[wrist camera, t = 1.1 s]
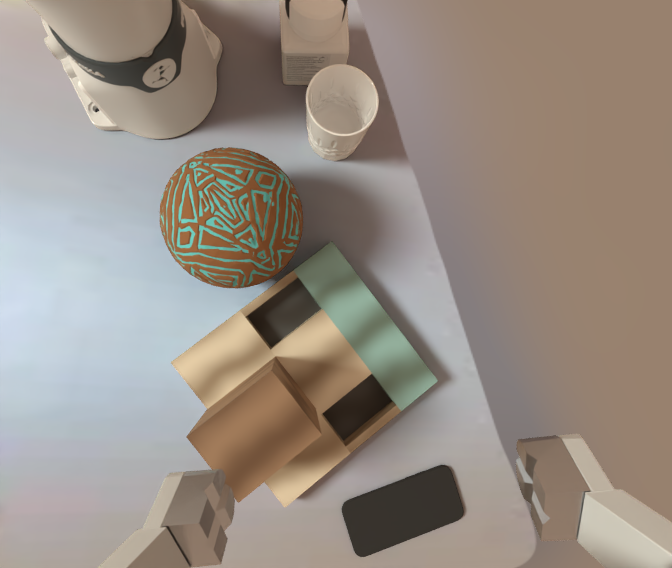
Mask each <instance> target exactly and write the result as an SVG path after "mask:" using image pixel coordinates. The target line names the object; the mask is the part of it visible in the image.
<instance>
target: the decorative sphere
mask: <svg viewBox="0 0 672 568" xmlns="http://www.w3.org/2000/svg"><path fill="white" fill-rule="evenodd" d="M160 227H161V230H162V234H163V237H164V240H165V243H166V245H167V247H168V249H169V251H170V253H171V254H172V256H173V257H174V259H175V260H176V262H178V263H179V264H180V265H181V266H182V268H183V269H185V270H186V271H187V272H188V273H189V274H191V275H192V276H194V277H196V278H197V279H199V280H201V281H203V282H206V283H208V284H211V285H214V286H218V287H223V288H244V287H250V286H254V285H257V284H260V283H262V282H265V281H267V280H269V279H270V278H272V277H273V276H274V275H276V274H277V273H279V272H280V271H281V270H282V269H283V268H284V267H285V266H286V265H287V264H288V262H289V261H290V260H291V258H292V257H293V255H294V253H295V252H296V249H297V247H298V244H299V242H300V239H301V235H302V228H303V213H302V205H301V202H300V199H299V196H298V194H297V192H296V189H295V187H294V185H293V183H292V182H291V181H290V179H289V177H288V176H287V175H286V174H285V173H284V172H283V171H282V170H281V169H280V168H279V167H278V166H277V165H276V164H274V163H273V162H272V161H269V159H268V158H266V157H264V156H262V155H260V154H258V153H255V152H252V151H249V150H245V149H239V148H230V147H229V148H218V149H216V148H215V149H212V150H210V151H206V152H202V153H200V154H198V155H196V156H194V157H193V158H191V159H189V160H188V161H187V162H186V163H184V164H183V165H182V166H181V167H180V168H179V169H177V170H176V172H175V173H174V174H173V176H172V177H171V178H170V180H169V182H168V184H167V185H166V188H165V192H164V193H163V195H162V198H161V205H160Z"/></svg>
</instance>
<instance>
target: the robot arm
mask: <svg viewBox="0 0 672 568" xmlns="http://www.w3.org/2000/svg"><path fill="white" fill-rule="evenodd" d="M25 1H26V2H27V3H28V4H29V5H30V6H31V7H32V8H33V9H34V10H35V11H36V12H37V13H38V14H39V15H40V16H41V17H42V23H43V25H44V28H45V30H46V32H47V34H48V36H49V37H46V38H45V39H44V41H45V43H46V45H47V46H48V48H49V50H50V51H51V52H52V54H53V55H54V56H55V57H56V58H57V59H58V60H61V62H62V64H63V68H64V70H65V71H66V73H67V74H68V76H69V78H70V80H71V82H72V84H73V86H74V88H75V90H76V92H77V94H78V96H79V98H80V100H81V102H82V104H83V106H84V108H85V110H86V112H87V114H88V116H89V118H90V120H91V122H92V123H93V124H94V125H95V126H96V127H97V128H98V129H101V130H124V131H128V132H131V133H133V134H136V135H139V136H142V137H146V138H153V139H166V138H172V137H176V136H180V135H182V134H185V133H187V132H189V131H190V130H192V129H194V128H195V127H196V126H198V125H199V124H200V123H201V122H202V121H203V120H204V119H205V117H206V116H207V115H208V113H209V112H210V110H211V108H212V106H213V104H214V101H215V97H216V92H217V74H216V70H217V65H218V62H219V60H220V57H221V54H222V44H221V42H220V40H219V38H218V37H217V36H216V35H215V34H214V33H213V32H212V31H211V30H209V29H208V28H207V27H206V26H205V25H204V24H203V23H202V22H201V21H200V19H199V17H198V15H197V13H196V12H195V10H194V9H190V8H189V7H188V6H187V5H186V4H184V3H183V2H182V1H181V0H25ZM97 108H98V109H99V111H98V112H95V110H96V109H97ZM516 449H517V452H518V454H519V456H520V457H519V458H518V459H517V460H516V473H517V479H518V483H519V486H520V490H521V492H522V495H523V497H524V499H525V500H526V501H528V502H529V503H530V504H531V517H532V520H533V522H534V525H535V527H536V529H537V532H538V534H539V537H540V539H541V541H557V540H578V542H579V543H580V544H581V545H582V546H583V547H584V548H585V549H586V550H587V551H588V552H589V553H590V554H591V555H592V556H593V557H594V558H595V559H596V560H597V561H599V562H600V563H601V564H602V565H603V566H604V567H605V568H672V522H670V521H669V520H667V519H666V518H664V517H663V516H661V515H660V514H658V513H657V512H655V511H654V510H652V509H651V508H649V507H648V506H646V505H645V504H643V503H642V502H640V501H639V500H637V499H636V498H634V497H633V496H631V495H630V494H628V493H627V492H625V491H624V490H622V489H619V490H615V488H614V486H613V485H612V483H611V482H610V480H609V479H608V477H607V475H606V474H605V473H604V471H603V469H602V468H601V466H600V464H599V463H598V461H597V460H596V458H595V456H594V455H593V454H592V452H591V450H590V449H589V447H588V445H587V444H586V442H585V441H584V439H583V437H582V436H580V435H579V434H569V435H559V436H546V437H537V438H528V439H519V440H518V441H517V448H516ZM225 479H226V475H225V473H224V471H223V470H222V469H216V470H201V471H186V472H175V473H169V474H168V476H167V477H166V478H165V479H164V482H163V484H162V486H161V488H160V491H159V493H158V495H157V497H156V499H155V502H154V504H153V506H152V508H151V511H150V513H149V515H148V517H147V520H146V522H145V524H144V526H143V529H137V530H136V531H135V532H134V533H133V534H132V535H131V536H130V537H129V538H128V539H127V540H126V541H125V542H124V543H123V544H122V545H121V546H120V547H119V548H117V549H116V550H115V551H114V552H113V553H112V554H111V555H110V556H109V557H108V558H107V559H106V560H105V561H104V562H103V563H102V564H101V565H100V566H99V567H98V568H190V567H199V566H209V565H218V564H221V562H222V558H223V554H224V551H225V547H226V543H227V537H226V534H225V532H224V531H225V530H226V529H227V527H228V526H229V525H230V524H231V523H232V519H233V515H234V504H235V500H234V494H233V491H232V489H231V487H230V486H228V485H227V484H225Z"/></svg>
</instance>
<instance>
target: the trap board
mask: <svg viewBox="0 0 672 568" xmlns="http://www.w3.org/2000/svg"><path fill="white" fill-rule="evenodd" d="M275 356H276V358H277V359H278V360H279V361H280V363H281V364H282V365H283V367H284V368H285V369H286V371H287V372H288V373H289V374H290V376H291V377H292V378H293V380H294V381H295V382H296V383H297V385H298V386H299V387H300V389H301V390H302V391H303V392H304V394H305V395H306V396H307V398H308V399H309V400H310V401H311V403H312V404H313V405H314V407H315V408H316V411H317V416H318V420H319V425H320V429H321V433H322V435H321V436H320V437H319V438H317V439H316V440H315V441H314V442H312V443H311V444H310V445H309V446H307V447H306V448H305V449H304V450H303V451H301V452H300V453H299V454H298V455H296V456H295V457H294V458H293V459H292V460H290V461H289V462H288V463H287V464H285V465H284V466H283V467H282V468H280V469H279V470H278V471H277V472H276V473H274V474H273V475H272V476H271V477H269V478H268V479H267V480H266V481H265V483H266V484H267V486H268V487H269V488H270V489H271V491H272V492H273V493H274V494H275V496H276V497H277V498H278V500H279V501H280V502H281V503H282V505H283V506H284V507H286V506H288V505H289V504H290V503H291V502H292V501H294V500H295V499H296V498H297V497H298V496H300V495H301V494H302V493H303V492H305V491H306V490H307V489H308V488H309V487H311V486H312V485H313V484H314V483H315V482H317V481H318V480H319V479H320V478H321V477H323V476H324V475H325V474H326V473H327V472H329V471H330V470H331V469H332V468H333V467H335V466H336V465H337V464H338V463H340V462H341V461H342V460H343V459H344V458H346V457H347V456H348V455H349V454H350V453H352V452H353V451H354V450H355V449H356V448H358V447H359V446H360V445H361V444H362V443H364V442H365V441H366V440H367V439H369V438H370V437H371V436H372V435H373V434H375V433H376V432H377V431H378V430H379V429H381V428H382V427H383V426H384V425H385V424H387V423H388V422H389V421H390V420H391V419H393V418H394V417H395V416H396V415H397V414H399V413H400V412H401V411H402V410H404V409H405V408H406V407H407V406H408V405H410V404H411V403H412V402H413V401H414V400H416V399H417V398H418V397H419V396H420V395H422V394H423V393H424V392H425V391H426V390H428V389H429V388H430V387H431V386H433V385H434V384H435V383H436V382H437V381H438V380H437V379H436V378H435V376H434V375H433V374H432V372H431V371H430V370H429V368H428V367H427V366H426V364H425V363H424V362H423V360H422V359H421V358H420V356H419V355H418V354H417V352H416V351H415V350H414V349H413V347H412V346H411V345H410V343H409V342H408V341H407V339H406V338H405V337H404V335H403V334H402V333H401V331H400V330H399V329H398V327H397V326H396V325H395V324H394V322H393V321H392V320H391V318H390V317H389V316H388V314H387V313H386V312H385V310H384V309H383V308H382V306H381V305H380V304H379V302H378V301H377V300H376V298H375V297H374V296H373V295H372V293H371V292H370V291H369V289H368V288H367V287H366V285H365V284H364V283H363V281H362V280H361V279H360V277H359V276H358V275H357V273H356V272H355V271H354V270H353V268H352V267H351V266H350V264H349V263H348V262H347V260H346V259H345V258H344V256H343V255H342V254H341V252H340V251H339V250H338V248H337V247H336V246H335V244H334V243H333V242H332V241H331V242H330V243H329V244H327V245H326V246H325V247H323V248H322V249H321V250H319V251H318V252H317V253H315V254H314V255H313V256H311V257H310V258H309V259H307V260H306V261H305V262H303V263H302V264H301V265H299V266H298V267H297V268H296V269H294V270H293V271H292V272H290V273H289V274H288V275H286V276H285V277H284V278H282V279H281V280H280V281H278V282H277V283H276V284H274V285H273V286H272V287H270V288H269V289H268V290H266V291H265V292H264V293H262V294H261V295H260V296H258V297H257V298H256V299H254V300H253V301H252V302H250V303H249V304H248V305H246V306H245V307H244V308H242V309H241V310H240V311H238V312H237V313H236V314H234V315H233V316H232V317H230V318H229V319H228V320H226V321H225V322H224V323H222V324H221V325H220V326H218V327H217V328H216V329H215V330H213V331H212V332H211V333H209V334H208V335H207V336H205V337H204V338H203V339H201V340H200V341H199V342H197V343H196V344H195V345H193V346H192V347H191V348H189V349H188V350H187V351H185V352H184V353H183V354H181V355H180V356H179V357H177V358H176V359H175V360H173V361H172V362H171V363H172V365H173V366H174V367H175V369H176V370H177V371H178V372H179V374H180V375H181V376H182V377H183V379H184V380H185V381H186V383H187V384H188V385H189V386H190V388H191V389H192V390H193V391H194V393H195V394H196V395H197V397H198V398H199V399H200V400H201V402H202V403H203V404H204V405H205V407H206V408H207V409H208V408H210V407H211V406H212V405H213V404H215V403H216V402H217V401H219V400H220V399H221V398H223V397H224V396H225V395H226V394H228V393H229V392H230V391H232V390H233V389H234V388H235V387H237V386H238V385H239V384H241V383H242V382H243V381H244V380H246V379H247V378H248V377H250V376H251V375H252V374H253V373H255V372H256V371H257V370H259V369H260V368H261V367H262V366H264V365H265V364H266V363H268V362H269V361H270V360H271V359H273V358H274V357H275Z"/></svg>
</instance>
